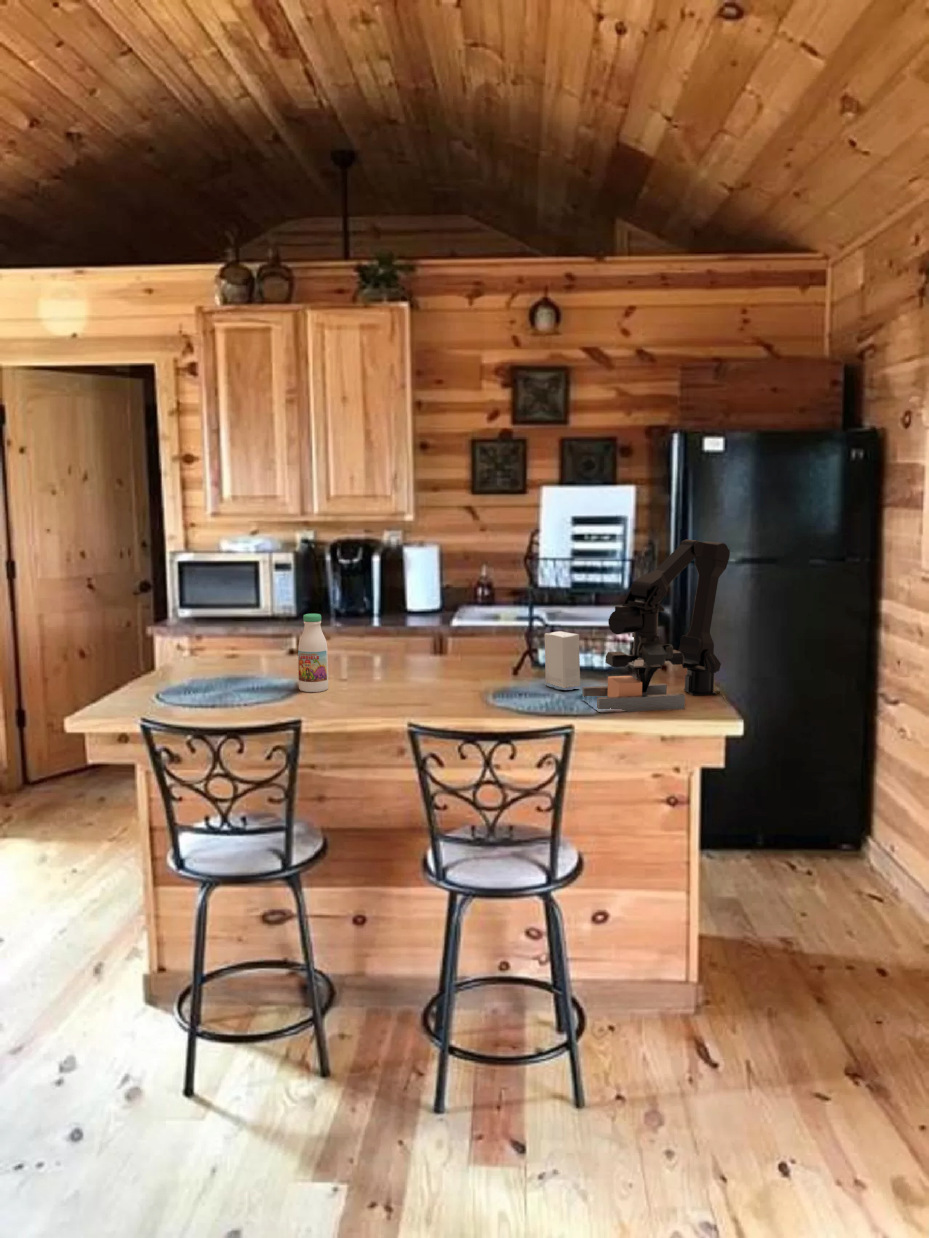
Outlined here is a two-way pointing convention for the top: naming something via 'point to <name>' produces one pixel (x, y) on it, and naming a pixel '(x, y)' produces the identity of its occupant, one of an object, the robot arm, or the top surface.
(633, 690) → the block
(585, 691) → the chute
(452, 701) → the top surface
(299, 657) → the milk bottle
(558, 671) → the skincare box
